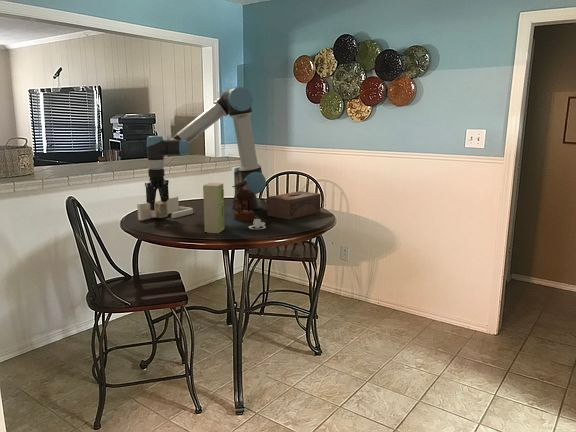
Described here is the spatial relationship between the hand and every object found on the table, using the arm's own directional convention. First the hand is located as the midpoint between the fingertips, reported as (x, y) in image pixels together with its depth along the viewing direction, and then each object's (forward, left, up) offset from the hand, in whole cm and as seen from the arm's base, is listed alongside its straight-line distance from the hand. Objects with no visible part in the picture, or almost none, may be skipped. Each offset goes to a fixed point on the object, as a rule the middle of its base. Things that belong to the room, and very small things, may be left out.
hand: (158, 215), depth 232 cm
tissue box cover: (-50, -48, -3) cm, 69 cm away
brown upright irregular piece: (-35, -24, -2) cm, 42 cm away
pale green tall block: (-39, +4, -2) cm, 39 cm away
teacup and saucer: (-53, -13, -3) cm, 55 cm away
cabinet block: (0, 0, 0) cm, 0 cm away
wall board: (+2, -8, -2) cm, 8 cm away
